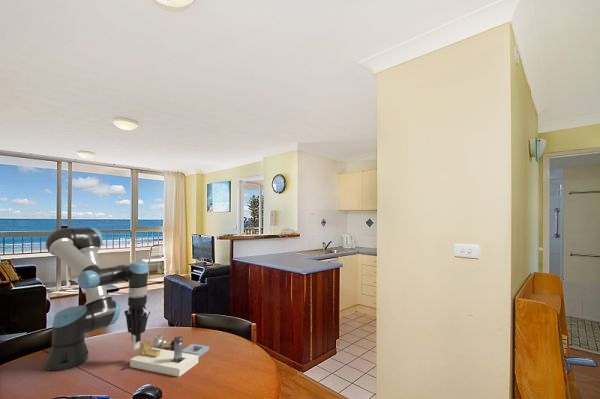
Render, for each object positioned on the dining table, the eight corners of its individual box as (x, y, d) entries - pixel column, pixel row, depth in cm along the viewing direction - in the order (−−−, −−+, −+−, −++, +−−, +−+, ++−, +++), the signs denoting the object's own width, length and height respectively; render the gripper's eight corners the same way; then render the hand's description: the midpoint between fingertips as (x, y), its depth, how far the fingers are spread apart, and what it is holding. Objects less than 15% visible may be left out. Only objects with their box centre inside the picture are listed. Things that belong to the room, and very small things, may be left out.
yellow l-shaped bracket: (139, 354, 125) (140, 343, 125) (145, 351, 128) (145, 340, 129) (155, 357, 122) (156, 345, 123) (161, 353, 125) (161, 342, 126)
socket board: (129, 369, 121) (130, 359, 121) (151, 356, 132) (152, 347, 132) (179, 379, 113) (179, 368, 113) (198, 364, 124) (198, 355, 125)
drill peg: (171, 368, 120) (172, 339, 120) (177, 364, 123) (178, 336, 124) (178, 369, 119) (179, 340, 119) (183, 365, 122) (184, 337, 123)
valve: (149, 352, 136) (172, 354, 135) (150, 338, 137) (172, 339, 135) (158, 346, 143) (180, 347, 141) (158, 333, 143) (180, 334, 142)
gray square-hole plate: (180, 356, 132) (180, 350, 132) (191, 349, 140) (192, 343, 140) (198, 359, 129) (198, 353, 129) (208, 351, 137) (209, 346, 137)
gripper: (119, 296, 128) (117, 350, 126) (141, 299, 124) (139, 354, 122) (133, 292, 135) (131, 343, 133) (155, 294, 131) (153, 346, 130)
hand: (135, 348), depth 128 cm, fingers closed
